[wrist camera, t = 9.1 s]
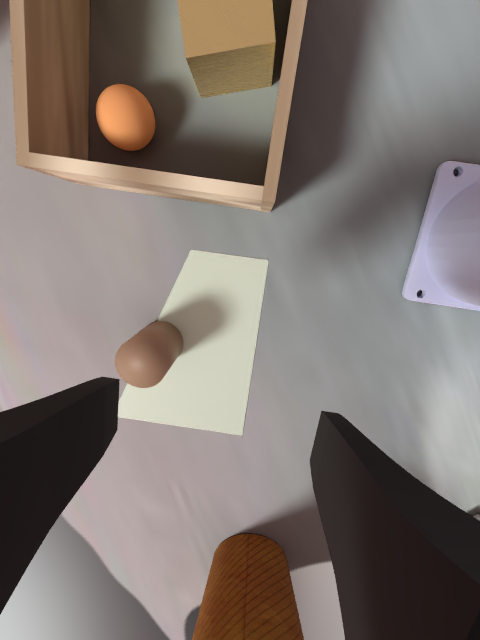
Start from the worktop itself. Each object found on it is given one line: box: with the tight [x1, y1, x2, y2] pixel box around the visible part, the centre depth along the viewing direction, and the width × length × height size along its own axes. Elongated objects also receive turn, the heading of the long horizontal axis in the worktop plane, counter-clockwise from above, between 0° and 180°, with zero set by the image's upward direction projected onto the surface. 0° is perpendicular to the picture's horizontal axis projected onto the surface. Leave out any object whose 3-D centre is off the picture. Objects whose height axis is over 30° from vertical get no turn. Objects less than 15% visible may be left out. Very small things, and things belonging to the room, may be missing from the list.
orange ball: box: [96, 84, 155, 151], centre depth 16 cm, size 3×3×3 cm
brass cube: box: [178, 0, 276, 98], centre depth 15 cm, size 4×4×4 cm
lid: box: [115, 250, 269, 435], centre depth 20 cm, size 13×13×5 cm
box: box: [9, 0, 308, 212], centre depth 15 cm, size 12×12×5 cm
